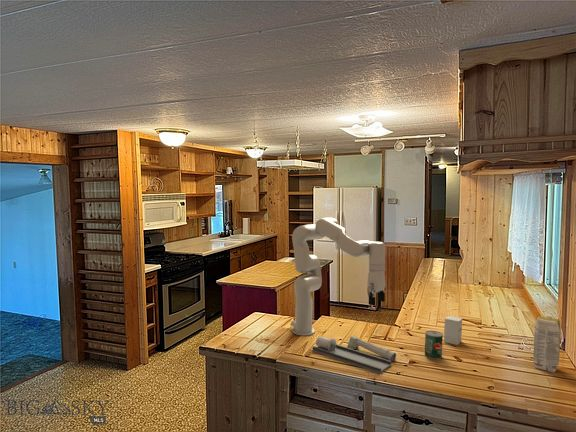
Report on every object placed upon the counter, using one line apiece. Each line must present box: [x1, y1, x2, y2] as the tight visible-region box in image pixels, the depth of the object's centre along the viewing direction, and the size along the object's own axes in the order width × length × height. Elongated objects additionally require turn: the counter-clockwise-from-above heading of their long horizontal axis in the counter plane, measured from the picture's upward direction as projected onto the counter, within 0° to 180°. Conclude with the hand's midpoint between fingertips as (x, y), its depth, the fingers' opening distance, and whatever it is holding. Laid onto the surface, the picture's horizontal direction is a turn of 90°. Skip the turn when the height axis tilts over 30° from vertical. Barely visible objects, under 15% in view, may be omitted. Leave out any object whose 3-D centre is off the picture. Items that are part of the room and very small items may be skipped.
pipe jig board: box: [312, 335, 393, 375], centre depth 181 cm, size 36×11×7 cm, turn 50°
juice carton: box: [532, 314, 562, 373], centre depth 174 cm, size 9×8×24 cm
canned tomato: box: [424, 330, 444, 360], centre depth 186 cm, size 8×8×11 cm
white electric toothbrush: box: [347, 335, 397, 362], centre depth 188 cm, size 5×7×25 cm
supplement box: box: [443, 315, 463, 346], centre depth 205 cm, size 7×7×13 cm
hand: (376, 303), depth 185 cm, fingers open, 9 cm apart
